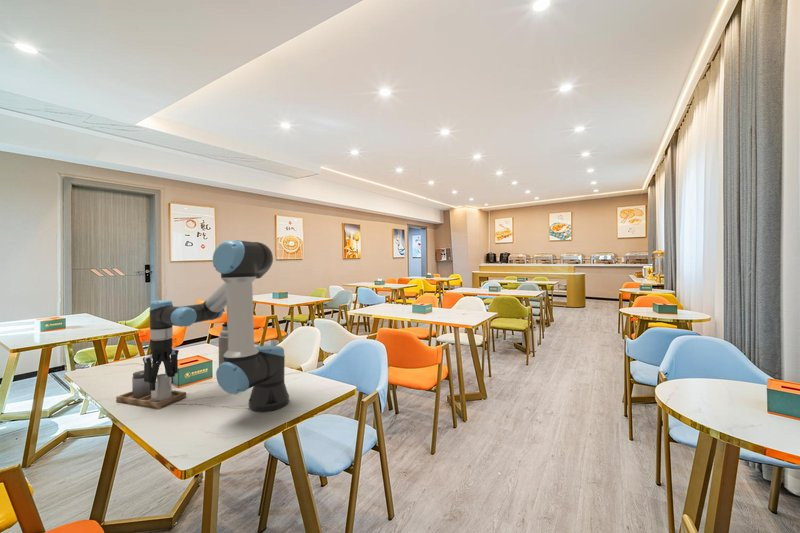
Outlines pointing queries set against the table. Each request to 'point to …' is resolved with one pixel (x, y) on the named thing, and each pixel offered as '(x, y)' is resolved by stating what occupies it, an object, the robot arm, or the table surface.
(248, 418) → the table surface
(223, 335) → the thermos bottle
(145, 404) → the caddy
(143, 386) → the pepper shaker
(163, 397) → the flask
